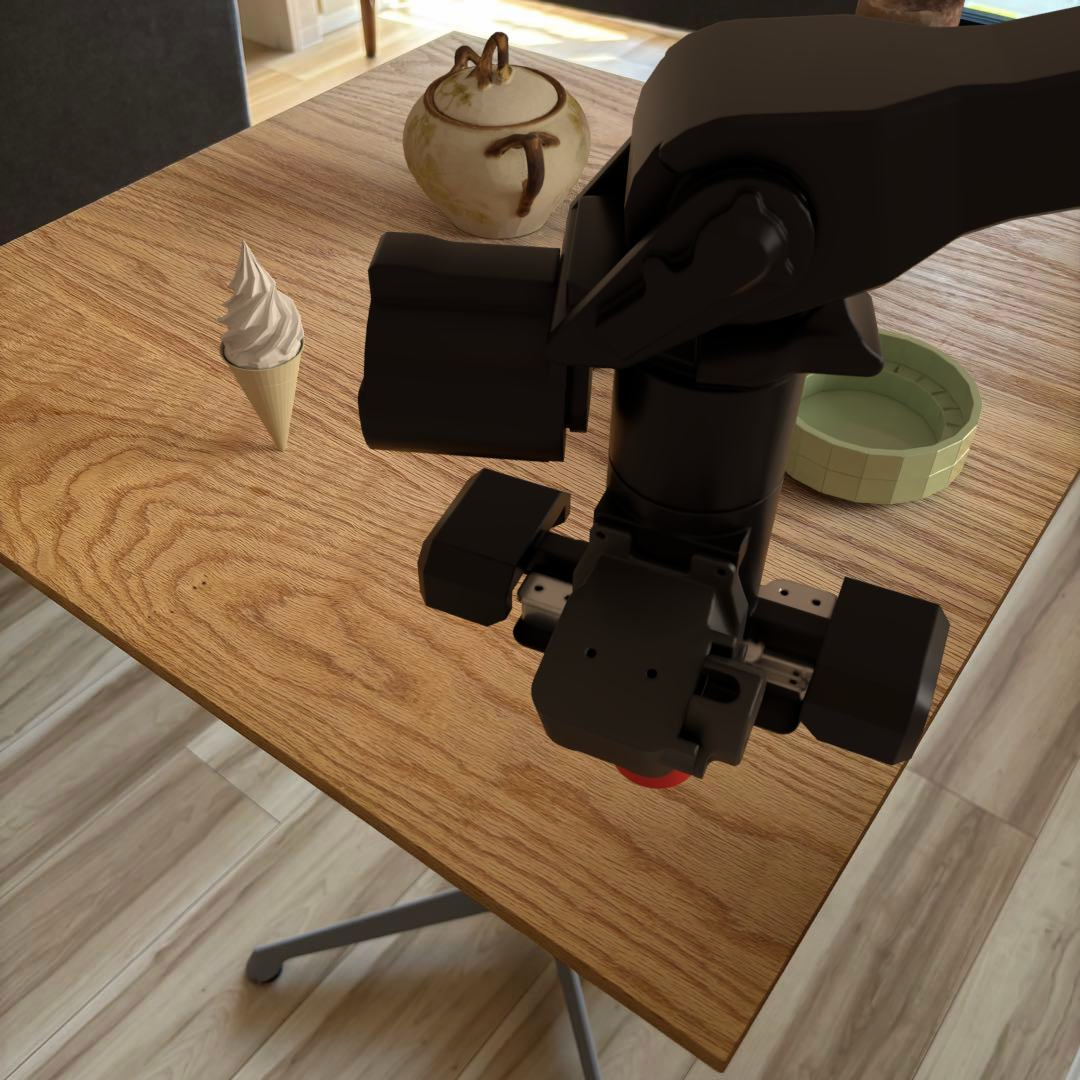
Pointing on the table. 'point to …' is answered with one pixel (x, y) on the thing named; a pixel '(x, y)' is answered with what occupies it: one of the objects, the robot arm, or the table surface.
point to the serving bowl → (887, 426)
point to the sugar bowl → (496, 143)
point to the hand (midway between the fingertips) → (656, 736)
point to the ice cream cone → (263, 344)
